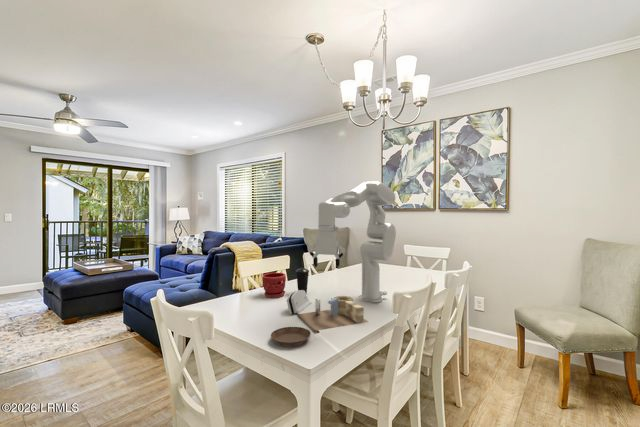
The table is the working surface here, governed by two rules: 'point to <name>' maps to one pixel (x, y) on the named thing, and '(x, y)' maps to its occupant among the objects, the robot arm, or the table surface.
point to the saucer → (290, 336)
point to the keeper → (334, 306)
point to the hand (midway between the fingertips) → (326, 267)
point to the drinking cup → (302, 278)
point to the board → (326, 320)
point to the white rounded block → (297, 301)
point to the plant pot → (274, 284)
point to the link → (350, 308)
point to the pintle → (317, 307)
